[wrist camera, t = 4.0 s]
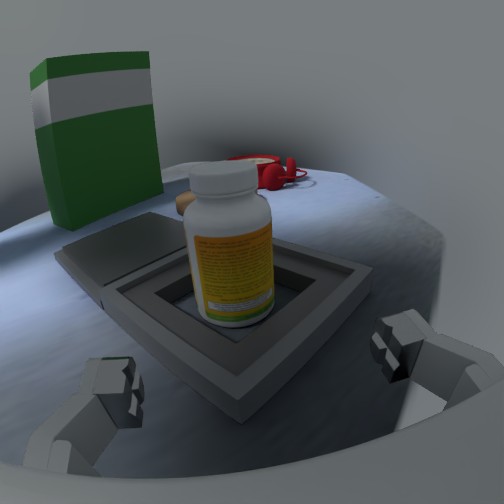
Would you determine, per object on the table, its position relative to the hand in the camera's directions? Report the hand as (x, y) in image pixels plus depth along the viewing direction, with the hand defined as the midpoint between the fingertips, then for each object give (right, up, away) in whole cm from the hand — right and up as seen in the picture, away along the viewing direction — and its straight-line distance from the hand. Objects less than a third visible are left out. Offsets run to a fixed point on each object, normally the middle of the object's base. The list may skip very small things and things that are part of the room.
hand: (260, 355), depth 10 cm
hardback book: (-23, +10, +37) cm, 45 cm away
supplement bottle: (-1, -1, +13) cm, 13 cm away
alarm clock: (+1, +14, +43) cm, 45 cm away
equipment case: (-7, +2, +17) cm, 18 cm away
